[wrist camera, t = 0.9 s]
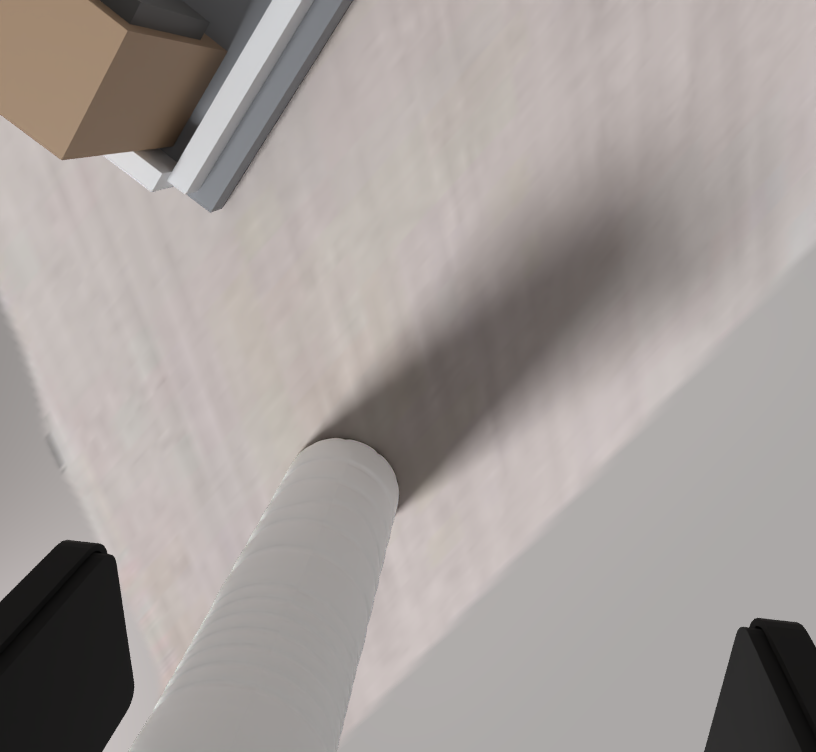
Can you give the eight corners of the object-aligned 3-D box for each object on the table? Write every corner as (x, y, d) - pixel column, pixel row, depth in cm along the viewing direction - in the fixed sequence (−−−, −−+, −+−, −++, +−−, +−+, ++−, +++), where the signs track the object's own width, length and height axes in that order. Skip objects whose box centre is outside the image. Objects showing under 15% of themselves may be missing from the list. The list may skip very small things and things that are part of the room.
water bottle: (266, 487, 40) (-42, 1003, 17) (334, 413, 38) (85, 890, 15) (381, 576, 42) (239, 1166, 18) (453, 509, 39) (395, 1085, 16)
